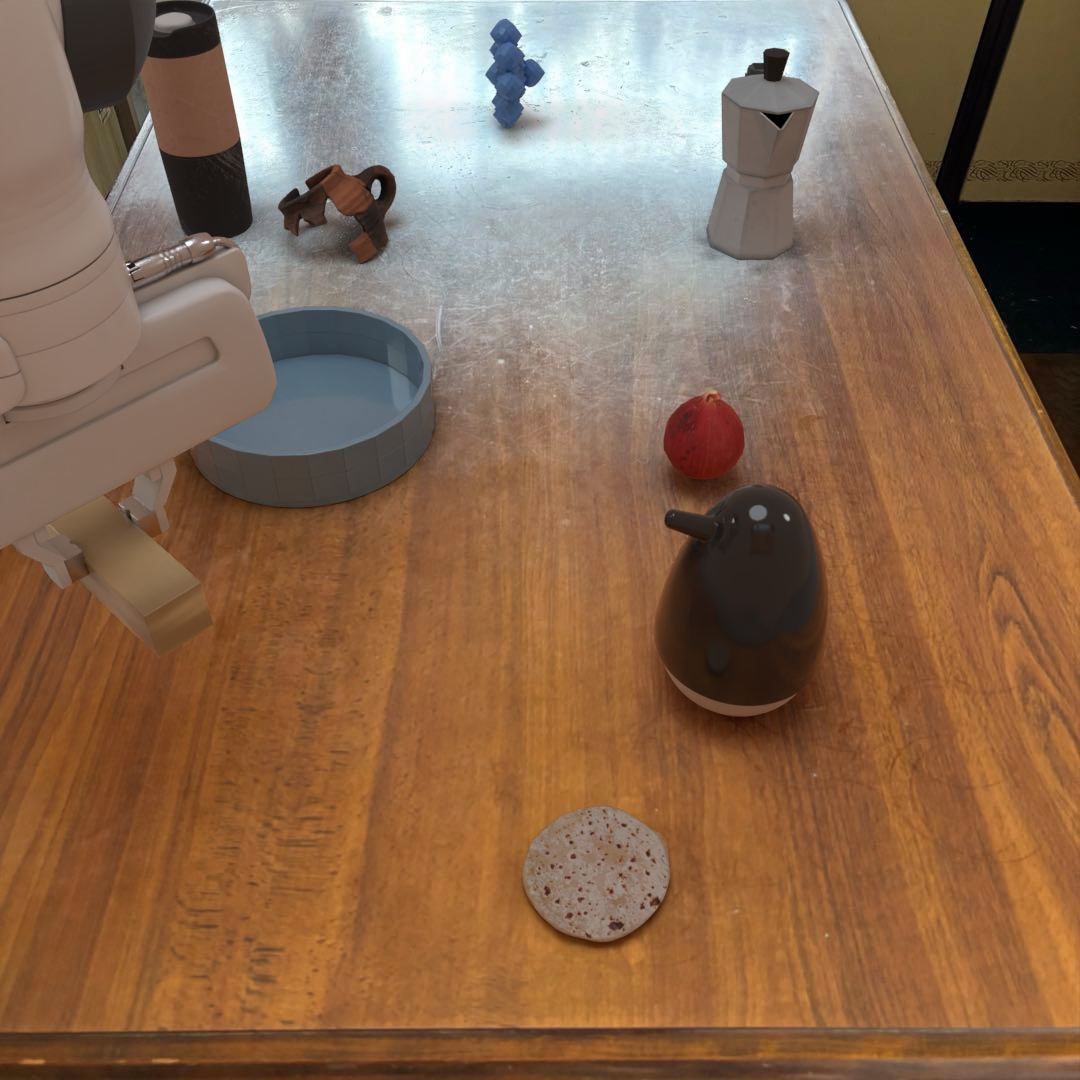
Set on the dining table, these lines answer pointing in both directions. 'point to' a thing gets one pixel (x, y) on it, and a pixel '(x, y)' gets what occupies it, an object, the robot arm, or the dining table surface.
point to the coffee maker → (760, 159)
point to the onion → (704, 437)
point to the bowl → (328, 411)
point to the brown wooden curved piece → (345, 204)
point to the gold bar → (136, 576)
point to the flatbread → (596, 873)
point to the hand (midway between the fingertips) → (109, 553)
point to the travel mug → (196, 120)
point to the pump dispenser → (744, 603)
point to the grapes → (510, 73)
